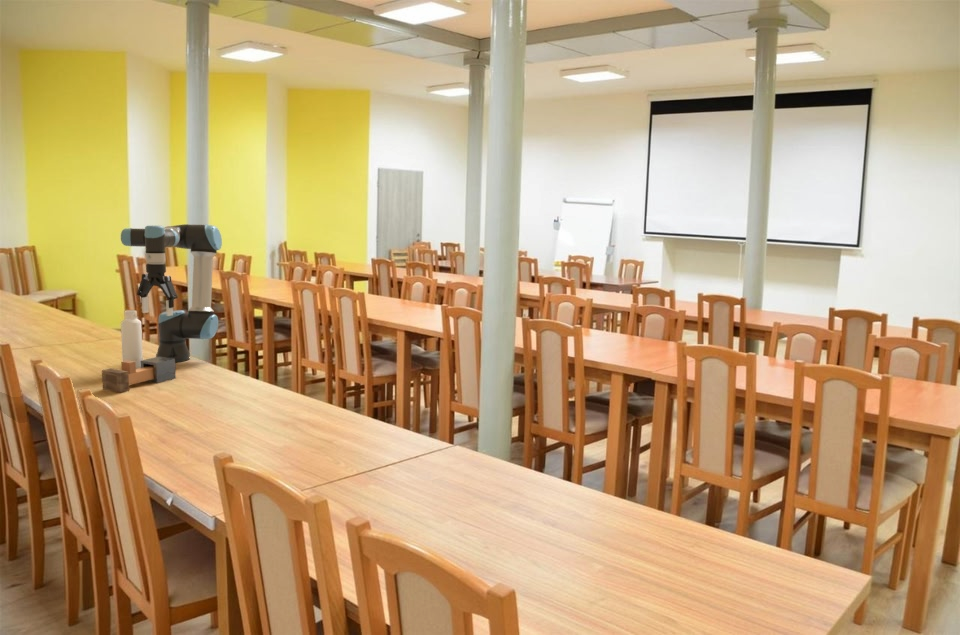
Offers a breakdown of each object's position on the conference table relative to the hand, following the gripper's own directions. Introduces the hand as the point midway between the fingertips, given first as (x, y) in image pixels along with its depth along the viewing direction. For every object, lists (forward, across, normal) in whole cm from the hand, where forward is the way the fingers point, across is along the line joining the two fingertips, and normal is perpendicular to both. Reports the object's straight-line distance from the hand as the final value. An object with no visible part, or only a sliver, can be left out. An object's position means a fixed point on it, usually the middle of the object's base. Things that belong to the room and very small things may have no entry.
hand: (157, 314), depth 314 cm
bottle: (+29, -19, +3) cm, 35 cm away
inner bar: (+27, -3, -11) cm, 29 cm away
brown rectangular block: (+29, -3, -20) cm, 35 cm away
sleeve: (+29, -3, +2) cm, 29 cm away
